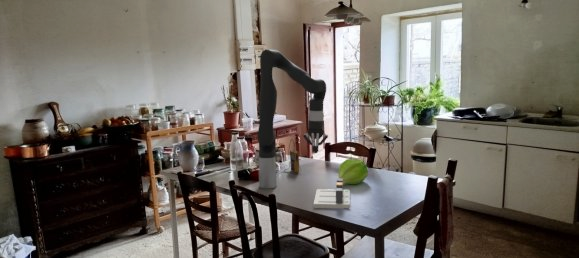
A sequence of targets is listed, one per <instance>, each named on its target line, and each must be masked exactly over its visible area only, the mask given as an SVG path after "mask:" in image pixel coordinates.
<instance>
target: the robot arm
mask: <svg viewBox="0 0 579 258" xmlns="http://www.w3.org/2000/svg"><path fill="white" fill-rule="evenodd" d="M260 53H261V54H260V58H259V65H260V88H259V89H260V92H259V124H258V131H257V137H256V138H257V141H258V162H259V163H258V166H259V169H258V186H259V187H258V188H260V189H268V190H269V189H273V188H276V187H277V185H278V184H277V181H278V180H277V162H276V161H277V159H276V150H277V149H276V147H277V145H276V133H275V130H274V120H275V114H276V108H277V102H278V101H277V100H278V91H277V87H276V85H275V82H274V80H273V79H274V78H273V68H276V69H280V70H282V71H283V72H285V73H286V74H287V75H288V77H289V78H290V79H292V80H293V81H294V82H296V83H297V84H298V85H300V86H301V87H302V88H303V89H304V90H305V91H306V92H308V93H310V94H313V97H312V98H311V99H310V100H309V105H308V107H309V108H308V118H307V119H308V125H307V127H308V128H307V129H308V130H307V131H306V133H304V134H303V138H304V139H305V140H306V142H307V143H308V145H310V146H312V152H313V154H317V153H318V152H319V146H322V145H323V144H324V142H325V141H326V140H327V139H328V137H329V135H328V134H326V133H325V131H324V101H325V98H326V93H327V84H326V82H325V80H324V79H320V78H317V79H314V78H312V76H311V74H310V73H308V71H306V70H304V69H303V68H301V67H299V66H298V65H296V64H295V63H293V62H292V61H290V60H289V59H288V58H287V57H286V56H284V54H282V53H281V52H280V51H279V50H277V49H268V48H267V49H264V50H263V51H262V52H260ZM321 138H322V139H321ZM320 139H321V140H320Z"/></svg>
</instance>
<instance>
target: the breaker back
mask: <svg viewBox="0 0 579 258" xmlns="http://www.w3.org/2000/svg"><path fill="white" fill-rule="evenodd" d="M337 182H343V178H338V177H337V178H336V183H337Z"/></svg>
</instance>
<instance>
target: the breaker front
mask: <svg viewBox="0 0 579 258" xmlns="http://www.w3.org/2000/svg"><path fill="white" fill-rule="evenodd" d="M335 189H336V203H342V188H335Z"/></svg>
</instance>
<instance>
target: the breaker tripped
mask: <svg viewBox="0 0 579 258" xmlns="http://www.w3.org/2000/svg"><path fill="white" fill-rule="evenodd" d="M336 188H342V197H343V190H344V189H343V188H344V183H343V182H337V181H336ZM336 188H335V189H336Z"/></svg>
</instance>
